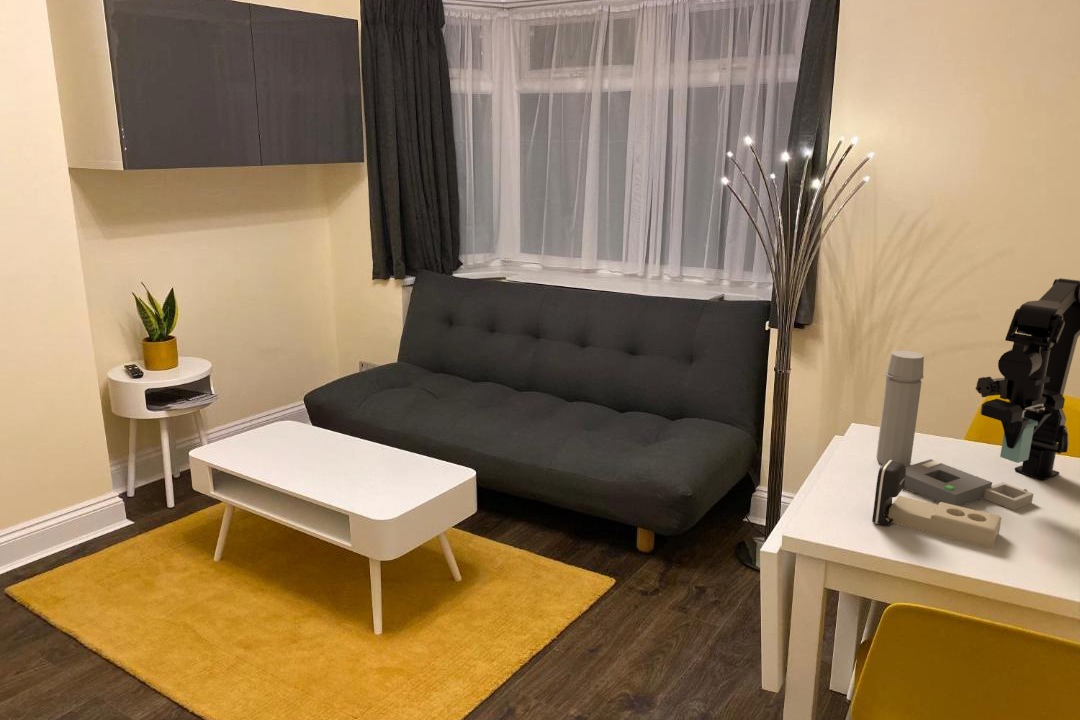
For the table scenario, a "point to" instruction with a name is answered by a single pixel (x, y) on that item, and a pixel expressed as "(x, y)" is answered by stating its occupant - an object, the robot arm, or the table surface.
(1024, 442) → the plug
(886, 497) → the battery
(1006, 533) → the table surface
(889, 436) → the water bottle
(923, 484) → the port panel
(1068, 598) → the table surface
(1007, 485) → the beige frame with handle
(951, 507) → the electrical outlet
